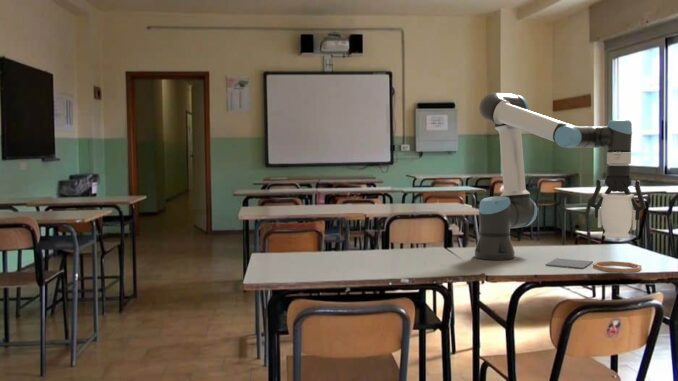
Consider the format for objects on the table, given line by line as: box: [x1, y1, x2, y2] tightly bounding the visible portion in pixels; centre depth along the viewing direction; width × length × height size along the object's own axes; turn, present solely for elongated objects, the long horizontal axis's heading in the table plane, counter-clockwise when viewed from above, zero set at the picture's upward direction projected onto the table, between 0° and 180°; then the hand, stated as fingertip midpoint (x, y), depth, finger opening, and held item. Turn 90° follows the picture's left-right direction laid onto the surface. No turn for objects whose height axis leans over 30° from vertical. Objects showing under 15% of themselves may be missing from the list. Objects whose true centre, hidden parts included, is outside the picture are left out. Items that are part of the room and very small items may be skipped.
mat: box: [545, 258, 594, 270], centre depth 225 cm, size 13×15×1 cm
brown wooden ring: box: [592, 260, 642, 273], centre depth 216 cm, size 15×15×1 cm
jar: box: [600, 192, 635, 239], centre depth 215 cm, size 11×10×15 cm
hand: (616, 228), depth 215 cm, fingers closed on jar, 10 cm apart
